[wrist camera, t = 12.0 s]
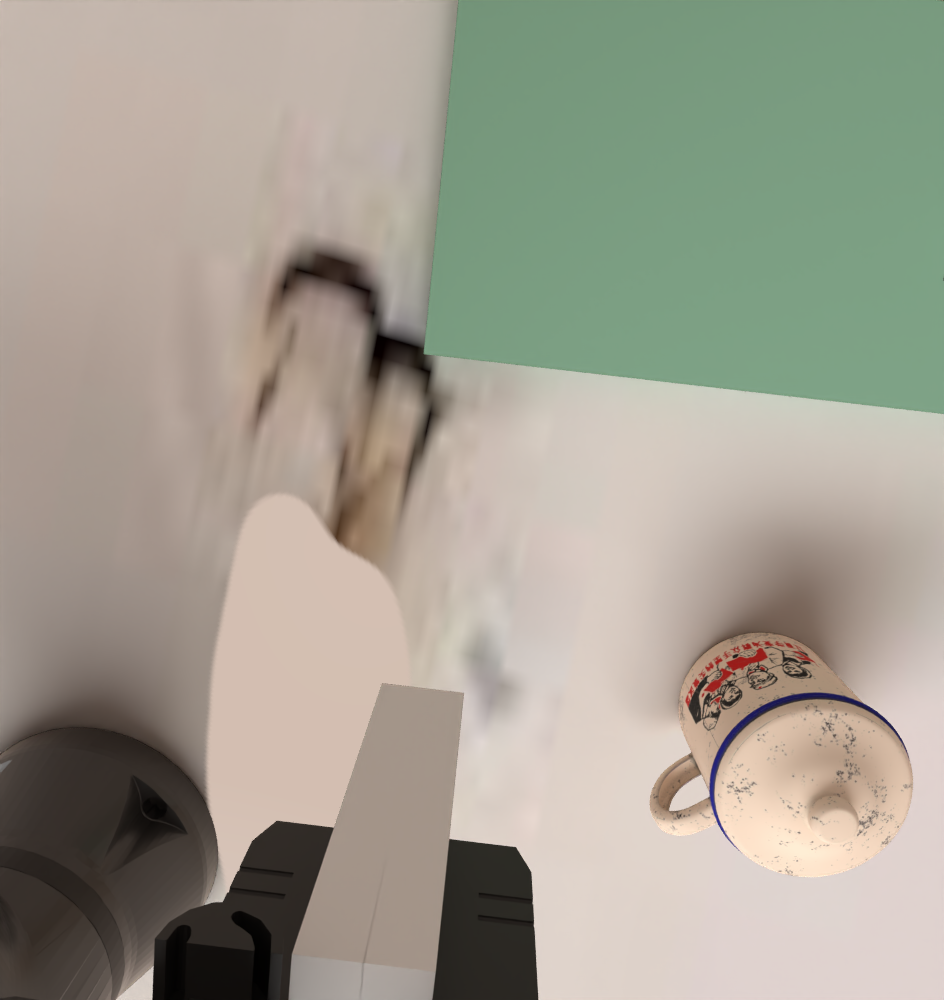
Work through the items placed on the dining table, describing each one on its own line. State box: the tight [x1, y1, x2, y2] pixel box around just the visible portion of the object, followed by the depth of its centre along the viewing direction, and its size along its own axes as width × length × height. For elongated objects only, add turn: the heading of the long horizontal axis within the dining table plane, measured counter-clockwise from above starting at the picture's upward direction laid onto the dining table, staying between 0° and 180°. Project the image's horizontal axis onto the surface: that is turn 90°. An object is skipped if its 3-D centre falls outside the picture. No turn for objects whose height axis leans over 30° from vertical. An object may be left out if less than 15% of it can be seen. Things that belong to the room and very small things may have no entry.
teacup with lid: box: [650, 633, 913, 877], centre depth 40 cm, size 12×9×12 cm
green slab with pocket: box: [424, 0, 944, 414], centre depth 38 cm, size 34×18×4 cm, turn 84°
